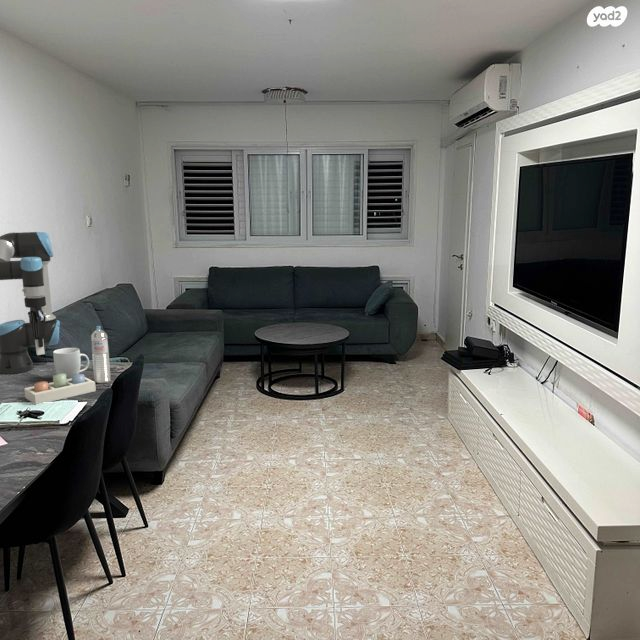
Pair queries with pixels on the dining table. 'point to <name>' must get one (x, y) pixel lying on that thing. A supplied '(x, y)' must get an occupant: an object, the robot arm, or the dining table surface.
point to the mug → (68, 361)
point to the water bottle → (100, 356)
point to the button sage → (59, 380)
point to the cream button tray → (59, 391)
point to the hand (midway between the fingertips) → (40, 354)
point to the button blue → (78, 378)
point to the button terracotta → (40, 386)
